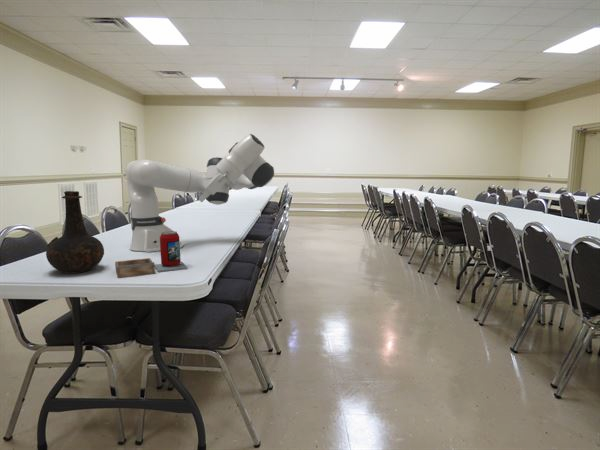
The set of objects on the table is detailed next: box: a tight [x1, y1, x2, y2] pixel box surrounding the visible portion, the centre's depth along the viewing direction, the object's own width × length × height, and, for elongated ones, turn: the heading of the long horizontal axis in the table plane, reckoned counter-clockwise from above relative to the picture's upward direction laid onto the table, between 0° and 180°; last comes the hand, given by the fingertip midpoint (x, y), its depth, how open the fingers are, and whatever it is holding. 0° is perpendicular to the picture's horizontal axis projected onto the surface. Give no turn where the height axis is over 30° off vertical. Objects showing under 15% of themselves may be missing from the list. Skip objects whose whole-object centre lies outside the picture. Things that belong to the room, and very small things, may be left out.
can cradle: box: [114, 257, 156, 278], centre depth 140 cm, size 12×12×4 cm
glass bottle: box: [45, 190, 105, 274], centre depth 141 cm, size 18×18×28 cm
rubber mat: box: [154, 261, 189, 273], centre depth 146 cm, size 10×10×1 cm
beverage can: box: [159, 230, 182, 267], centre depth 146 cm, size 7×7×12 cm
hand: (200, 199), depth 144 cm, fingers open, 8 cm apart
